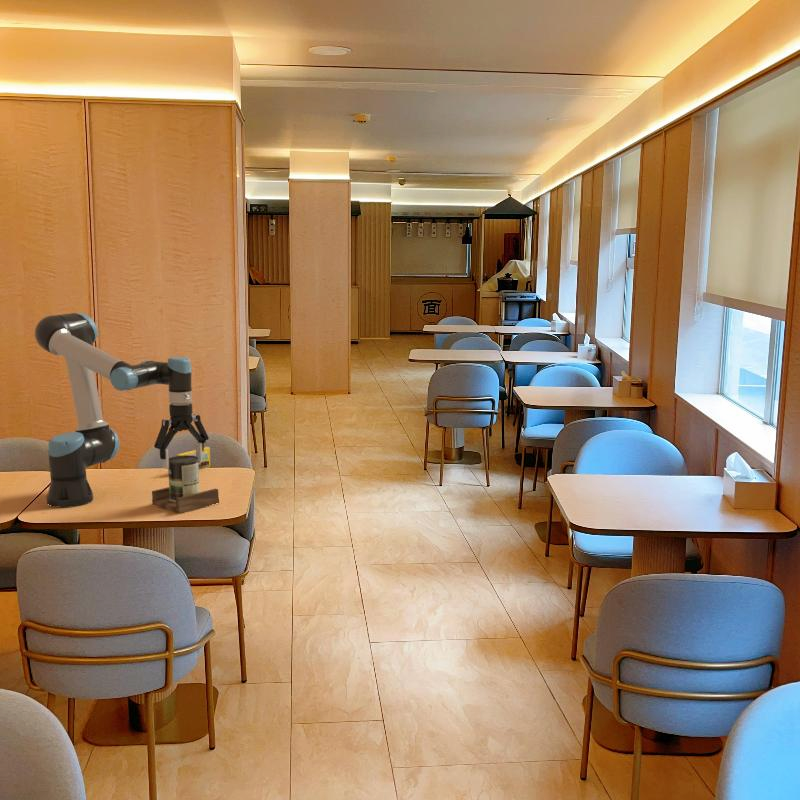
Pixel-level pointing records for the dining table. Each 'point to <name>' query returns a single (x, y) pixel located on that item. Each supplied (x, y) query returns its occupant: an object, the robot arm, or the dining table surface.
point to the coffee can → (183, 476)
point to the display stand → (184, 500)
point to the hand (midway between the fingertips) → (182, 464)
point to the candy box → (204, 457)
